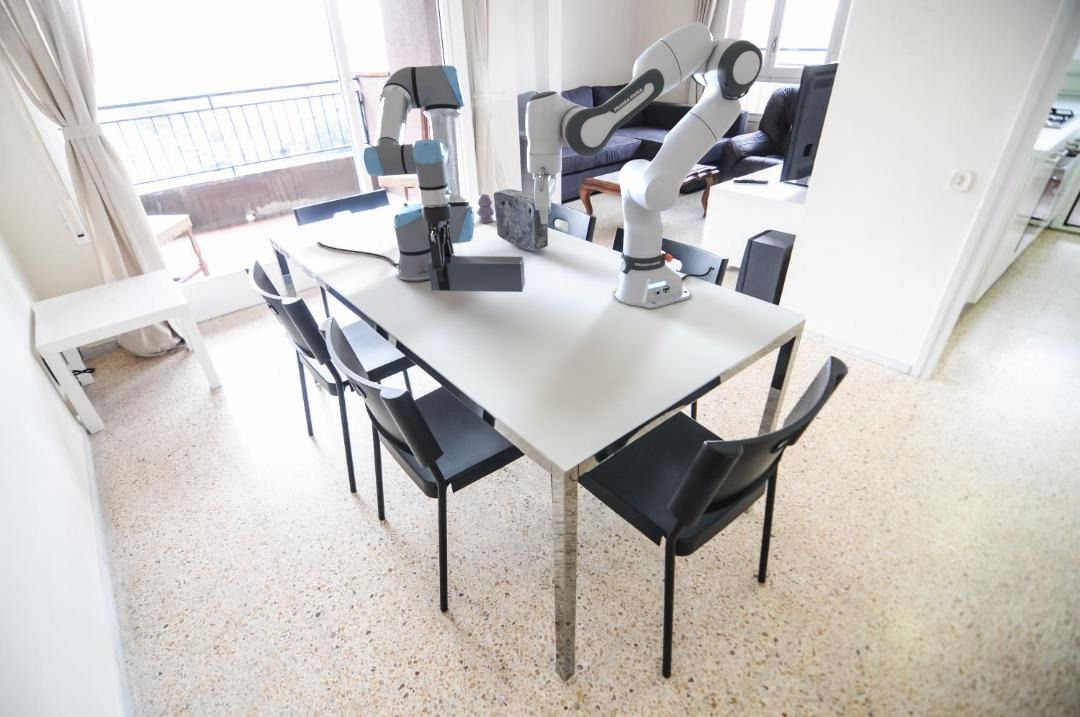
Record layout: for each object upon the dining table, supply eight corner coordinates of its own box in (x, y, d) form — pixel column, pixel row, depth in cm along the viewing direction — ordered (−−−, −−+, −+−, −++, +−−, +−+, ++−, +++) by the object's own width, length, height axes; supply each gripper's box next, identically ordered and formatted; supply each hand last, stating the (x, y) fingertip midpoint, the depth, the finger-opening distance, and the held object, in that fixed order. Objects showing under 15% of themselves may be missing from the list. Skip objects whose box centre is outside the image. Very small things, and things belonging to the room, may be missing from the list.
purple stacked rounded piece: (498, 220, 229) (496, 193, 223) (486, 224, 225) (483, 197, 218) (486, 217, 234) (484, 191, 228) (473, 221, 230) (471, 194, 223)
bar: (431, 290, 141) (427, 263, 137) (437, 283, 146) (432, 256, 142) (522, 292, 139) (520, 263, 134) (524, 283, 143) (523, 256, 139)
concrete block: (553, 252, 189) (552, 199, 179) (534, 258, 185) (532, 204, 175) (514, 236, 208) (511, 187, 198) (496, 241, 204) (492, 191, 193)
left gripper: (439, 213, 123) (451, 299, 135) (458, 195, 138) (467, 273, 150) (410, 213, 123) (425, 299, 136) (432, 195, 139) (443, 273, 151)
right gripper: (553, 172, 117) (554, 230, 125) (559, 156, 135) (560, 208, 142) (527, 172, 118) (529, 230, 125) (536, 157, 135) (538, 208, 143)
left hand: (447, 285), depth 143 cm, fingers closed on bar, 6 cm apart
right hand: (546, 218), depth 134 cm, fingers open, 8 cm apart
